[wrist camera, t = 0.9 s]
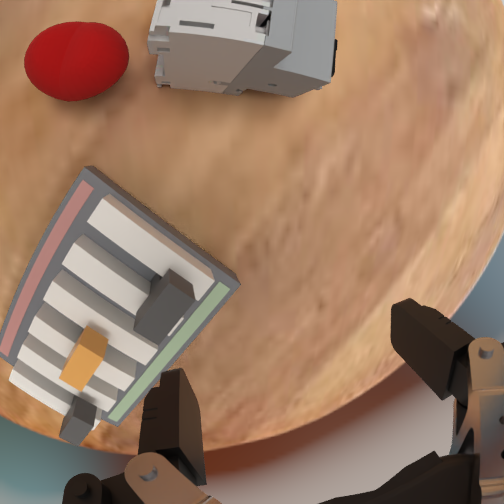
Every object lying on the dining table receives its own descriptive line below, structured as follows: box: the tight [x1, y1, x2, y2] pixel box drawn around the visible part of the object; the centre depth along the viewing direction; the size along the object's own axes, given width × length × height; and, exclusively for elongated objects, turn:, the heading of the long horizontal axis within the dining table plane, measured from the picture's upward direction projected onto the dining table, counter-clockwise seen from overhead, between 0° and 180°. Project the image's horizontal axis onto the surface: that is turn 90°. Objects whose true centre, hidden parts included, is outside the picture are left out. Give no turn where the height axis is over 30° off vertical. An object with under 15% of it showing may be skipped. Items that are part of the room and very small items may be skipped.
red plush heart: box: [24, 22, 129, 101], centre depth 19 cm, size 9×7×10 cm
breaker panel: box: [0, 166, 241, 446], centre depth 27 cm, size 19×26×10 cm
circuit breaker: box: [147, 0, 337, 97], centre depth 20 cm, size 8×14×15 cm, turn 83°
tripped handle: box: [59, 325, 109, 392], centre depth 25 cm, size 2×5×7 cm, turn 139°
